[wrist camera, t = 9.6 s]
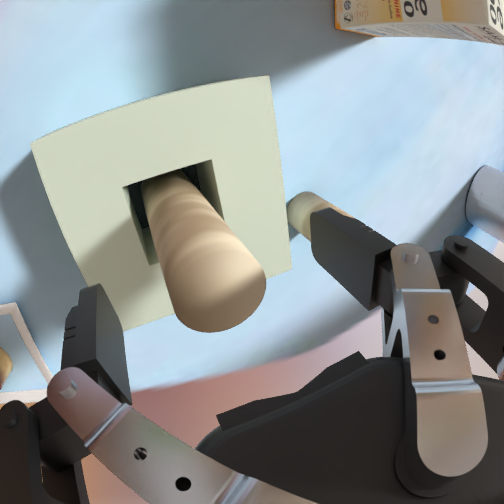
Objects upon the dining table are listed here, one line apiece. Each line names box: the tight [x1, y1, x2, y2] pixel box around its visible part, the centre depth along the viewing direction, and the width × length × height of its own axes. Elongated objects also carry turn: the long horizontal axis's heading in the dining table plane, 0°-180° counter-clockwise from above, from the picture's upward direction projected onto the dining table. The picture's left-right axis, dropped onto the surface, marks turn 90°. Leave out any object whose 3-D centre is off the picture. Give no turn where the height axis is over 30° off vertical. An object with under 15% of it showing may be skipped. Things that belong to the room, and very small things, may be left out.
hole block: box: [30, 75, 292, 331], centre depth 18 cm, size 12×12×5 cm
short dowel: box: [287, 192, 354, 242], centre depth 23 cm, size 3×3×5 cm
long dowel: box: [141, 169, 266, 333], centre depth 15 cm, size 3×3×12 cm
